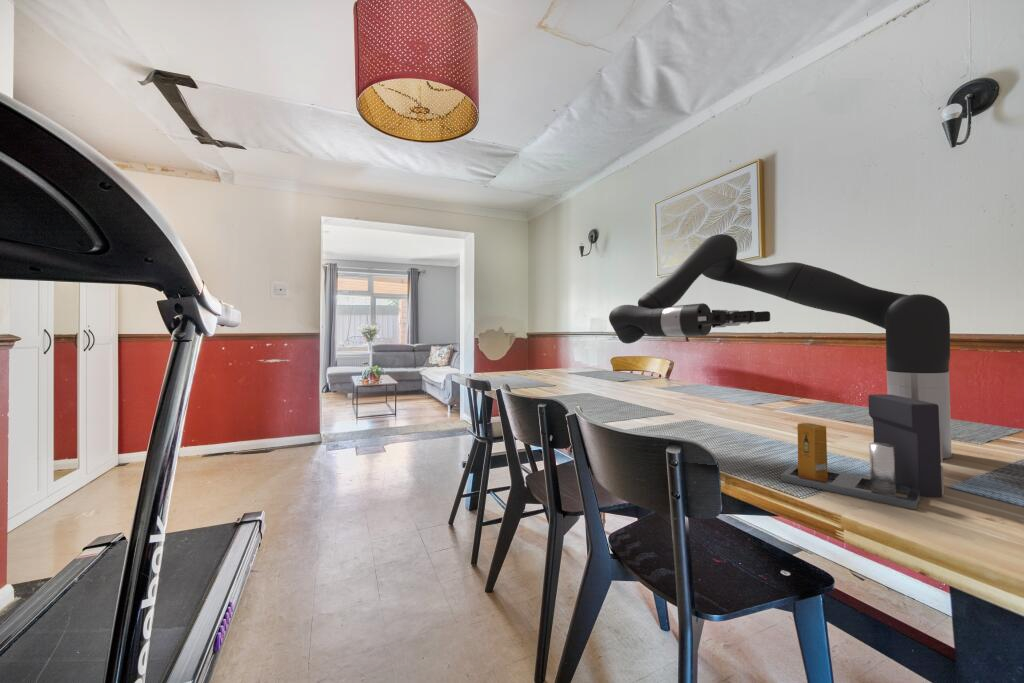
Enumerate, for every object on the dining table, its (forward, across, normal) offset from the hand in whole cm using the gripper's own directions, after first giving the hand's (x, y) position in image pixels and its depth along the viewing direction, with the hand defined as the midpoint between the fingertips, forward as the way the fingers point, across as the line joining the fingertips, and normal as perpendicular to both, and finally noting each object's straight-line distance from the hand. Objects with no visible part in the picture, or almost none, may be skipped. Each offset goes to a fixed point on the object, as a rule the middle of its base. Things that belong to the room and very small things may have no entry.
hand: (762, 316), depth 83 cm
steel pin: (+19, -7, +30) cm, 36 cm away
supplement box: (+9, -7, +30) cm, 32 cm away
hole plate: (+14, -7, +30) cm, 34 cm away
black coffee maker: (+20, +1, +31) cm, 37 cm away
